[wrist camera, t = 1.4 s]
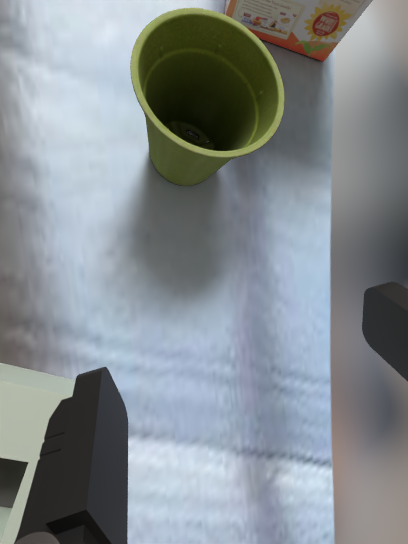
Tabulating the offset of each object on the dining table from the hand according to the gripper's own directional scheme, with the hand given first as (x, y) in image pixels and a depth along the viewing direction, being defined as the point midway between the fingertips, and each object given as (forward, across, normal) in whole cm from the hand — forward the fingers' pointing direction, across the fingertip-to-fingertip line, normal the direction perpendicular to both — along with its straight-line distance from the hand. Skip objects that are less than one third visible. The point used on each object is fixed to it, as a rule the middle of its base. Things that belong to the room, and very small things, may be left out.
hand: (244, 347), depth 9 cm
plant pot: (+28, -3, -2) cm, 29 cm away
